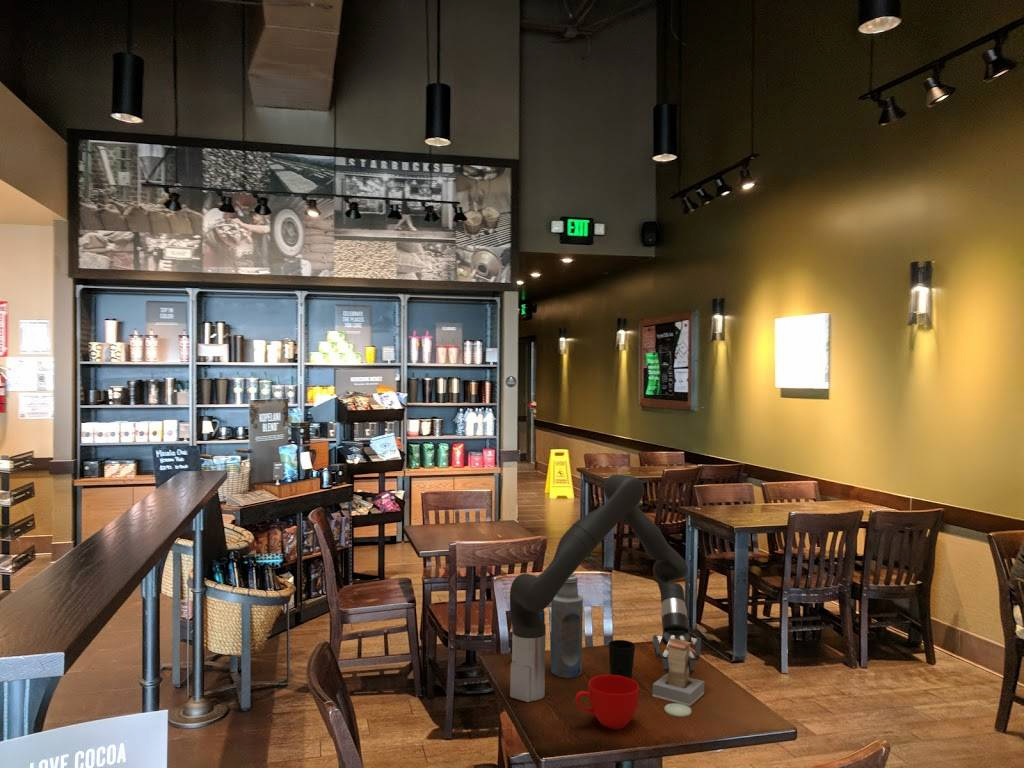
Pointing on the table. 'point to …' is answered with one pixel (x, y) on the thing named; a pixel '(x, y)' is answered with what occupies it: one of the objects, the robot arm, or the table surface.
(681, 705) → the pad
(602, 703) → the ceramic cup
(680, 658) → the plug
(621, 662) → the cup
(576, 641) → the bottle
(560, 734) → the table surface
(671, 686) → the socket block
